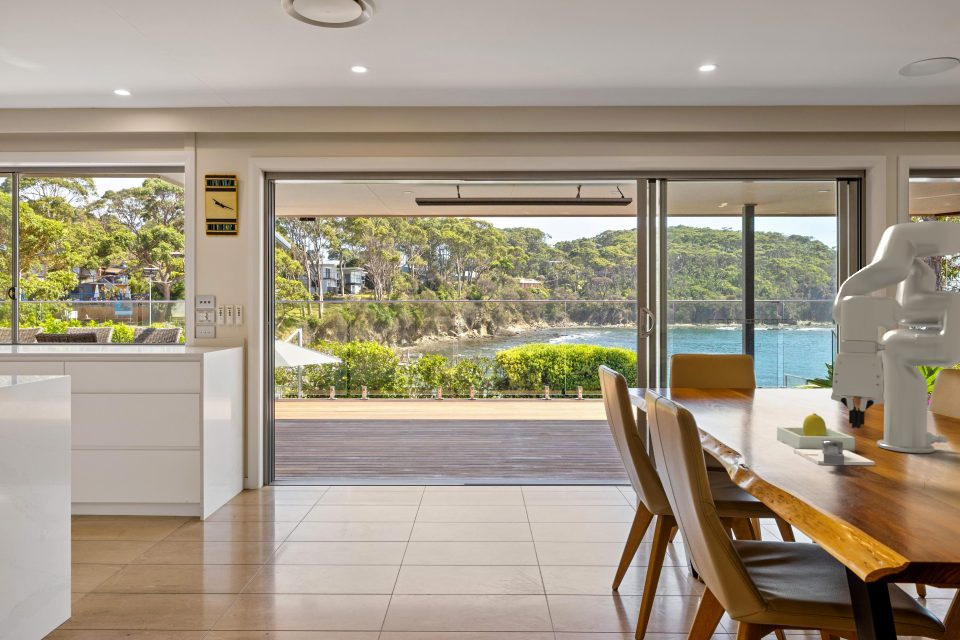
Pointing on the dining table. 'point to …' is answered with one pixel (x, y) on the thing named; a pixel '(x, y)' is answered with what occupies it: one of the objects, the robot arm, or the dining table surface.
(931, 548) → the dining table surface
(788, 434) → the tray
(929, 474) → the dining table surface
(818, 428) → the lemon
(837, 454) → the crank
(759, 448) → the dining table surface
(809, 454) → the crank board
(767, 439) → the dining table surface
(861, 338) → the robot arm
